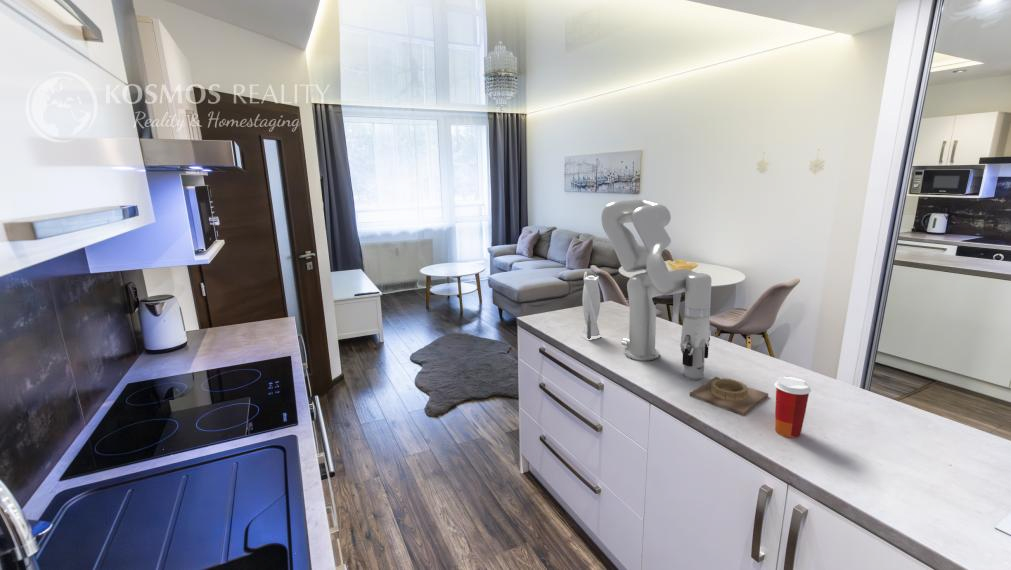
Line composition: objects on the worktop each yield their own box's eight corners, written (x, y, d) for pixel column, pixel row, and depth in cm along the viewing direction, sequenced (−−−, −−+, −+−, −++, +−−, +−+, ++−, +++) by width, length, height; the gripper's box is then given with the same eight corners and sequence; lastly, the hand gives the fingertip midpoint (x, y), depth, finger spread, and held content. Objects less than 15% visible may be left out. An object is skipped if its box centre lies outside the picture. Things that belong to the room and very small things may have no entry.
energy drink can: (701, 382, 143) (704, 338, 140) (682, 378, 147) (684, 336, 143) (704, 374, 148) (707, 332, 145) (685, 371, 151) (687, 330, 148)
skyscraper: (577, 335, 192) (576, 272, 185) (592, 331, 195) (592, 269, 188) (588, 340, 184) (588, 275, 178) (604, 337, 187) (604, 273, 181)
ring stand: (689, 395, 135) (690, 385, 134) (715, 379, 145) (716, 369, 144) (743, 415, 123) (744, 404, 122) (768, 396, 132) (769, 385, 131)
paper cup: (800, 426, 117) (806, 377, 113) (809, 442, 110) (815, 391, 106) (766, 422, 119) (771, 374, 116) (773, 437, 112) (778, 387, 109)
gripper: (700, 304, 150) (698, 351, 154) (671, 315, 140) (670, 365, 144) (722, 308, 144) (719, 357, 148) (694, 320, 134) (692, 372, 138)
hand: (695, 361), depth 146 cm, fingers open, 9 cm apart
